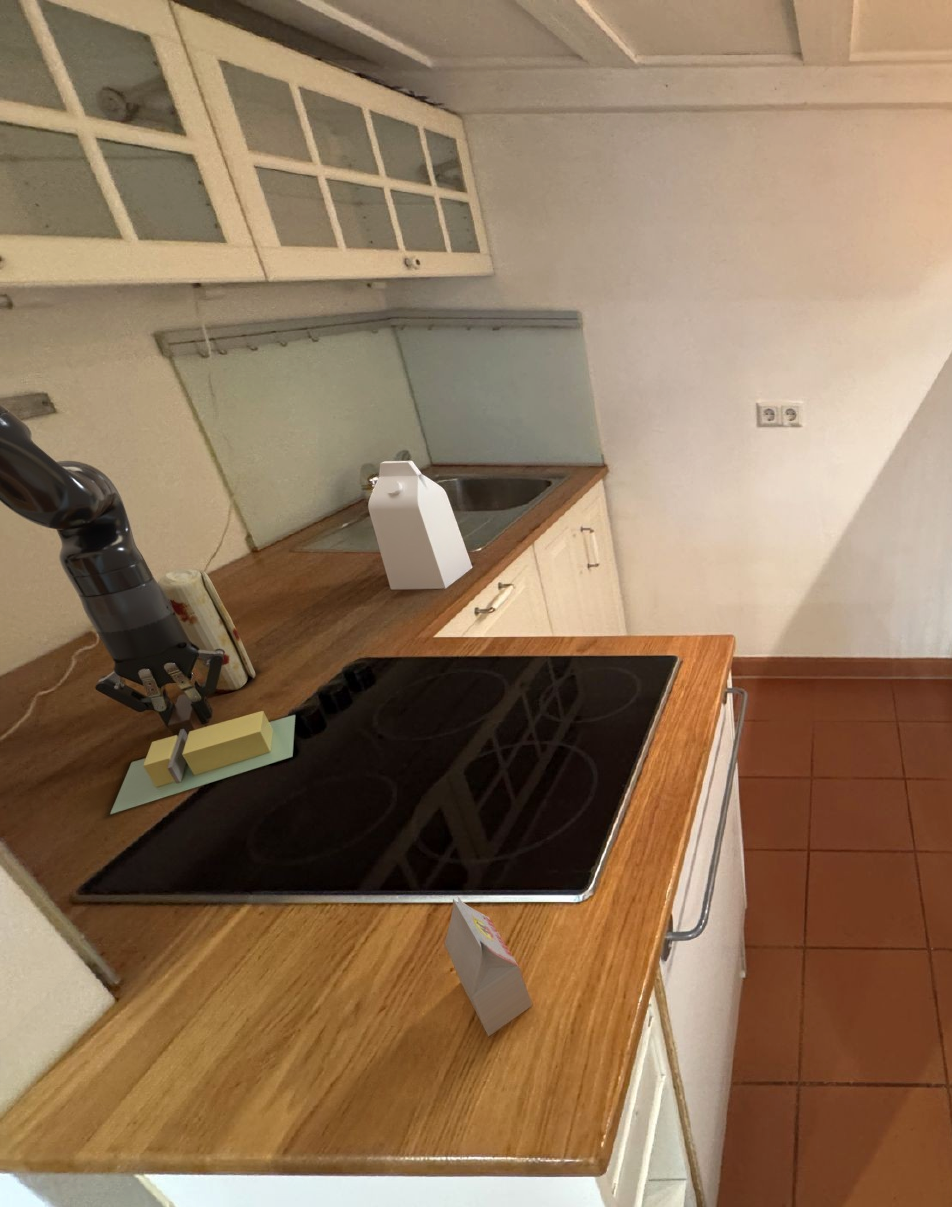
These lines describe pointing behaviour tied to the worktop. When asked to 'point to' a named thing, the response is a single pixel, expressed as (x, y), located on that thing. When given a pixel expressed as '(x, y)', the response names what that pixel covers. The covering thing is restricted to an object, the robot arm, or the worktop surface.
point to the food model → (208, 625)
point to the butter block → (228, 742)
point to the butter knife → (181, 734)
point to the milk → (416, 529)
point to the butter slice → (160, 760)
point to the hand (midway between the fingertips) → (193, 724)
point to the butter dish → (143, 789)
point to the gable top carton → (485, 968)
